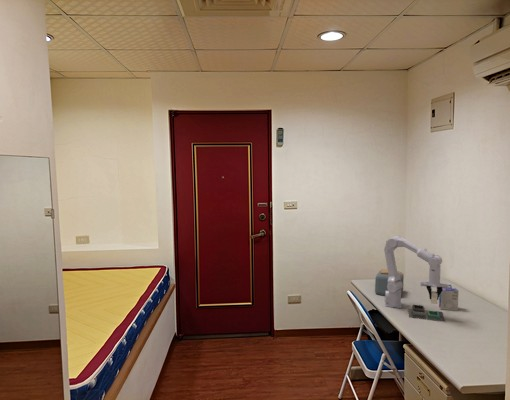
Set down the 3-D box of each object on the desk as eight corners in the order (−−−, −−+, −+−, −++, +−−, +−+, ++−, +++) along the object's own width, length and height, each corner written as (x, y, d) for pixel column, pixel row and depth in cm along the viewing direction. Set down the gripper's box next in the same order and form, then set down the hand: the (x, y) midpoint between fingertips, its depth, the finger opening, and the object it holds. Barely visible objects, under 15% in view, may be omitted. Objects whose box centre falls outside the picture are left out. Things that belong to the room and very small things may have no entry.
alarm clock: (403, 291, 250) (404, 269, 249) (399, 299, 237) (399, 275, 235) (379, 287, 259) (380, 266, 258) (374, 294, 245) (374, 272, 244)
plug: (431, 303, 207) (431, 293, 207) (430, 300, 211) (430, 290, 211) (437, 304, 206) (437, 294, 206) (436, 301, 210) (436, 291, 210)
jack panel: (408, 317, 208) (409, 310, 208) (407, 308, 221) (407, 302, 220) (445, 321, 202) (445, 314, 201) (442, 312, 214) (442, 306, 214)
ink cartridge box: (455, 307, 222) (456, 284, 221) (458, 310, 217) (459, 287, 215) (438, 306, 224) (439, 283, 223) (440, 309, 219) (441, 286, 217)
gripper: (421, 277, 206) (420, 300, 208) (449, 279, 201) (448, 303, 203) (420, 273, 213) (419, 295, 214) (447, 276, 208) (446, 298, 209)
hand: (433, 299), depth 209 cm, fingers closed on plug, 3 cm apart
